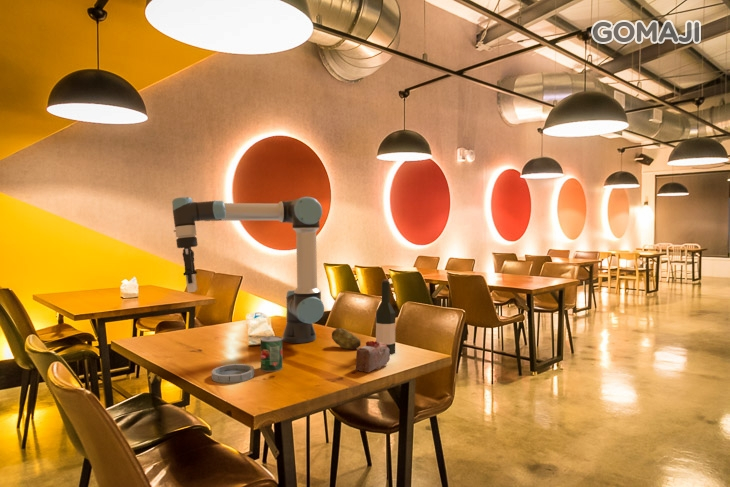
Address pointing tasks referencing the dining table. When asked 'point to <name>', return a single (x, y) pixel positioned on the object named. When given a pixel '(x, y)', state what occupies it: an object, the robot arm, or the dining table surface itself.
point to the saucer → (233, 373)
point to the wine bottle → (386, 319)
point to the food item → (372, 356)
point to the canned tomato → (271, 353)
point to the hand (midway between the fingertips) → (192, 291)
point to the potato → (345, 339)
